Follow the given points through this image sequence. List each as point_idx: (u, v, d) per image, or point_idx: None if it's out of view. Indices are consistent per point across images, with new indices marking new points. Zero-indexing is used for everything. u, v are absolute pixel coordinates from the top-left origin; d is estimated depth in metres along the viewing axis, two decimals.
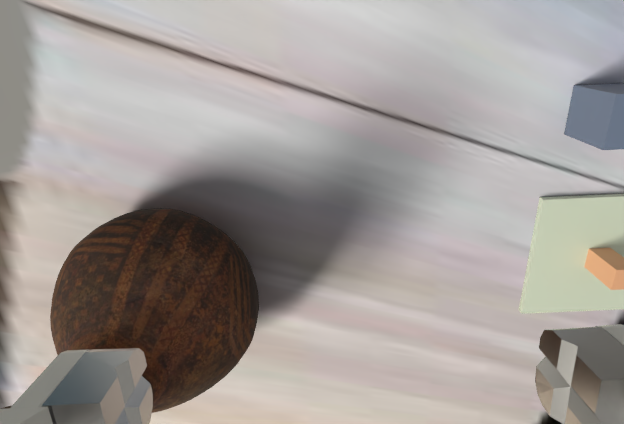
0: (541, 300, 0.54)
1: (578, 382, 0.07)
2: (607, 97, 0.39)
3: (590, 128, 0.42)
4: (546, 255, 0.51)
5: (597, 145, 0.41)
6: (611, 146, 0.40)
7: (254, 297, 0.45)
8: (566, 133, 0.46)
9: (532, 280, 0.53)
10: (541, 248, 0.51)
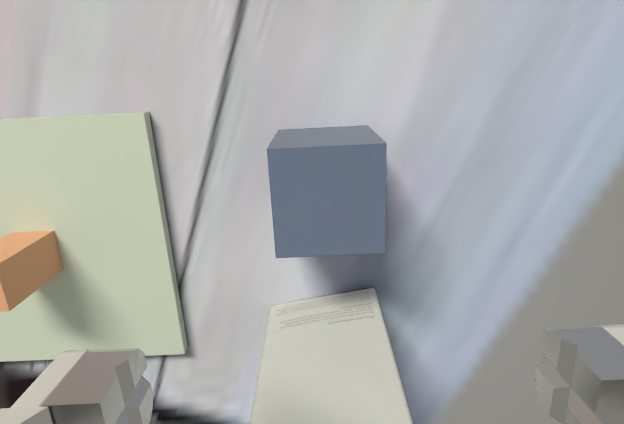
0: None
1: (578, 382, 0.07)
2: (372, 140, 0.19)
3: (304, 139, 0.21)
4: (20, 150, 0.24)
5: (273, 145, 0.19)
6: (275, 165, 0.19)
7: None
8: (280, 130, 0.24)
9: None
10: (34, 134, 0.24)
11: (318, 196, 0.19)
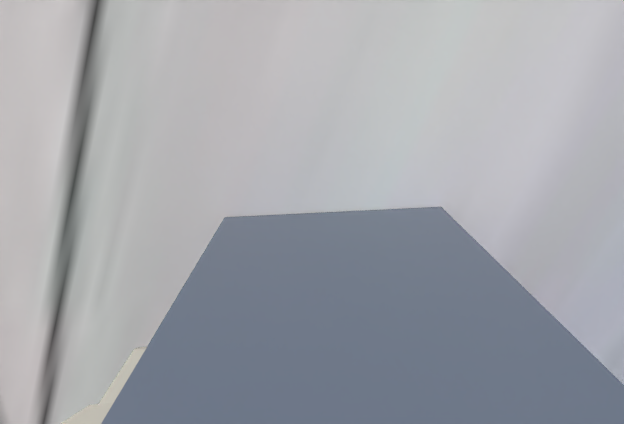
0: None
1: None
2: (545, 349, 0.05)
3: (277, 301, 0.06)
4: None
5: (144, 381, 0.05)
6: None
7: None
8: (228, 222, 0.10)
9: None
10: None
11: None
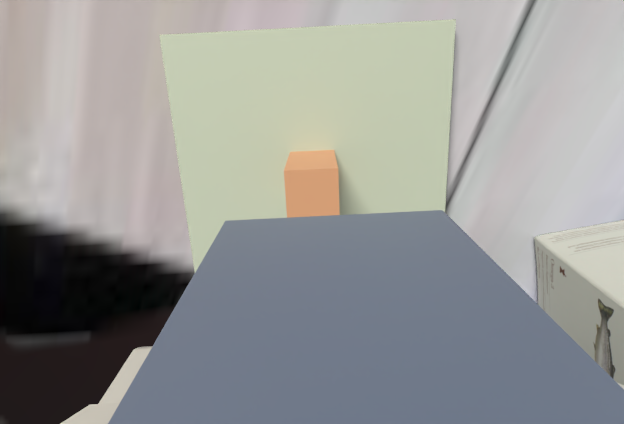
0: (200, 76, 0.23)
1: None
2: (548, 357, 0.05)
3: (279, 306, 0.06)
4: (318, 60, 0.23)
5: (146, 389, 0.05)
6: None
7: None
8: (229, 225, 0.10)
9: (252, 41, 0.23)
10: (336, 43, 0.23)
11: None
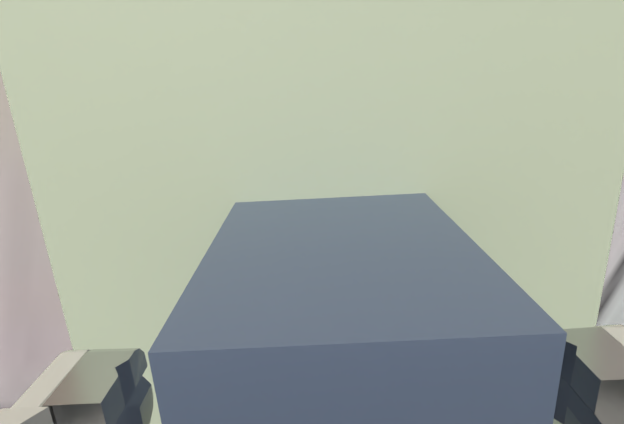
0: (82, 87, 0.11)
1: (578, 382, 0.07)
2: (492, 292, 0.06)
3: (284, 262, 0.08)
4: (346, 51, 0.10)
5: (184, 314, 0.06)
6: (181, 400, 0.05)
7: None
8: (239, 206, 0.11)
9: (196, 6, 0.10)
10: (387, 12, 0.10)
11: None
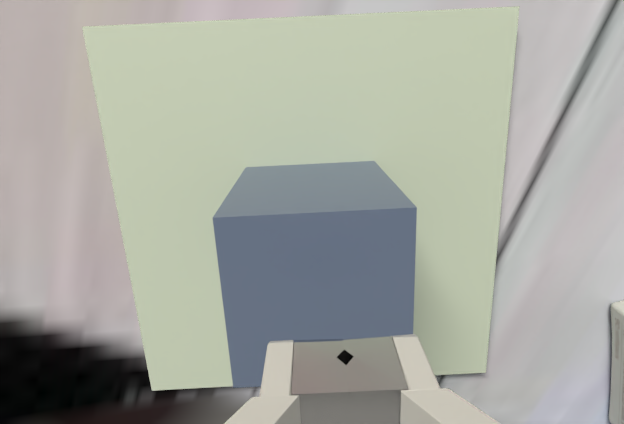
0: (145, 88, 0.16)
1: None
2: (390, 197, 0.12)
3: (279, 190, 0.13)
4: (319, 65, 0.16)
5: (226, 207, 0.11)
6: (228, 244, 0.11)
7: None
8: (248, 168, 0.17)
9: (222, 37, 0.15)
10: (345, 41, 0.16)
11: (301, 292, 0.11)
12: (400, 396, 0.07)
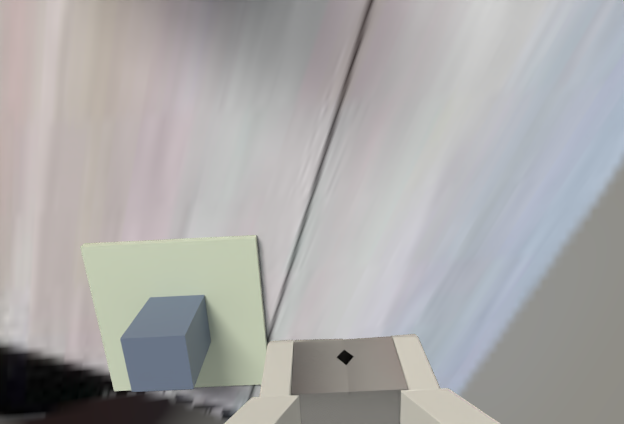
0: (106, 268, 0.39)
1: None
2: (182, 328, 0.35)
3: (150, 320, 0.36)
4: (176, 259, 0.39)
5: (127, 332, 0.34)
6: (125, 346, 0.34)
7: None
8: (150, 299, 0.40)
9: (136, 250, 0.38)
10: (186, 251, 0.38)
11: (151, 361, 0.34)
12: (400, 396, 0.07)
